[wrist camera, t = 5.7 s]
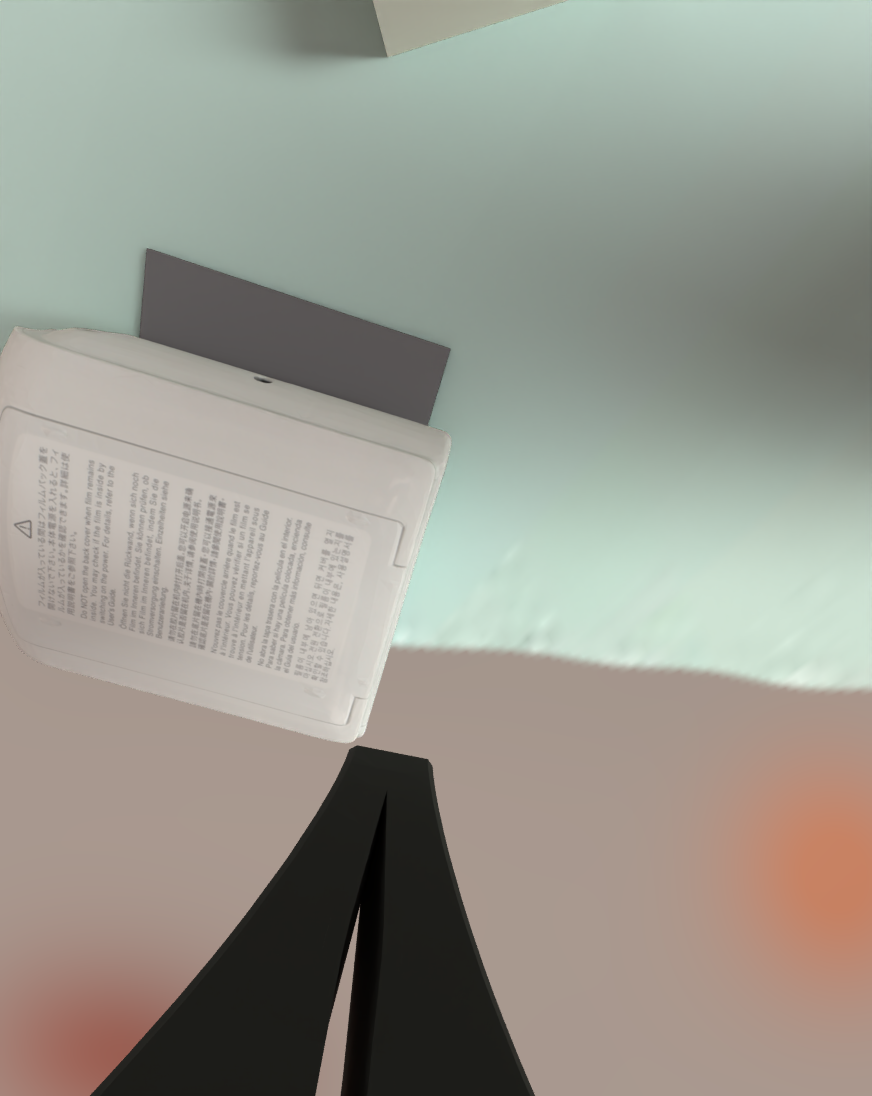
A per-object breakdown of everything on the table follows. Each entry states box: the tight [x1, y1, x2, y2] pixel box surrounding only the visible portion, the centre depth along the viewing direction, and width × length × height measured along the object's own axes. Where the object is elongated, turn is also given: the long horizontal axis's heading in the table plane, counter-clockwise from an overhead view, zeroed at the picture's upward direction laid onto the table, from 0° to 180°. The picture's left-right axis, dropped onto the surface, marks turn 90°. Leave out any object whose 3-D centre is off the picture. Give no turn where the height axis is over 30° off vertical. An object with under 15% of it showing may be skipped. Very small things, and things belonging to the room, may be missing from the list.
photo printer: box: [0, 326, 452, 743], centre depth 16 cm, size 10×4×12 cm
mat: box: [139, 248, 450, 426], centre depth 18 cm, size 9×14×1 cm, turn 163°
